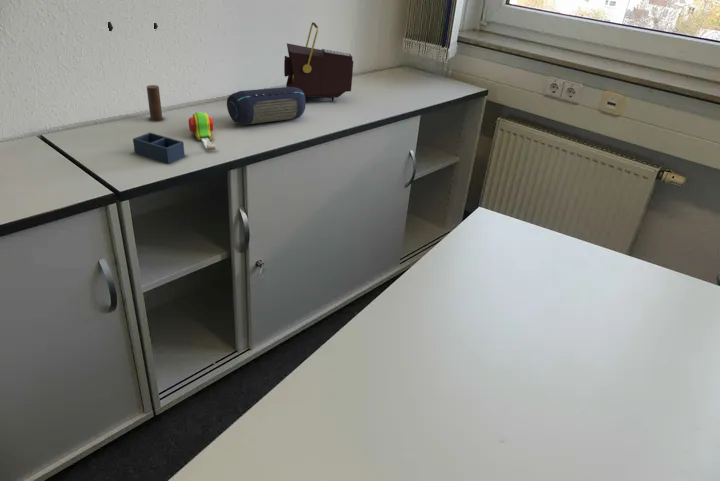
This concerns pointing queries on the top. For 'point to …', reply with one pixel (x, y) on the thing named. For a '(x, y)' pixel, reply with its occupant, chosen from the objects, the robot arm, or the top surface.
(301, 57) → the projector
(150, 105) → the brown cylinder
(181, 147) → the divided box
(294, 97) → the portable speaker
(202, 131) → the toy measuring tape
